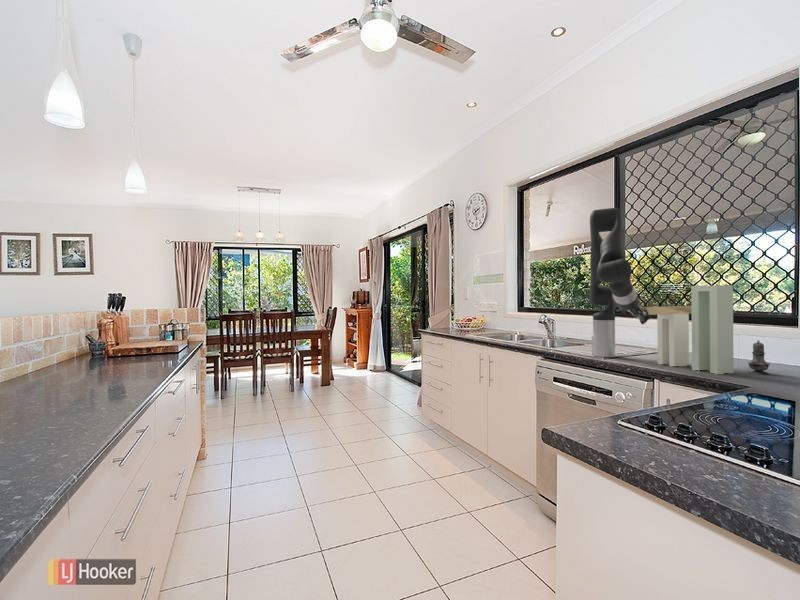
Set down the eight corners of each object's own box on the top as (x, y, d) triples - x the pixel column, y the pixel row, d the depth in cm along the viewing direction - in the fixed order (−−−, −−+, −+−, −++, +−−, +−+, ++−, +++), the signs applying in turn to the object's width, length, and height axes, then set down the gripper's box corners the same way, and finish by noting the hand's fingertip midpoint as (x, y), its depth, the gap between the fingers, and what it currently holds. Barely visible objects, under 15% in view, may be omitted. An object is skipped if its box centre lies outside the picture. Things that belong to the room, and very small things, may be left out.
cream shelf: (657, 364, 158) (657, 313, 157) (672, 362, 160) (671, 313, 160) (674, 366, 151) (673, 314, 151) (689, 365, 153) (688, 313, 153)
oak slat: (642, 314, 153) (642, 307, 153) (693, 312, 161) (693, 305, 161) (650, 314, 150) (649, 307, 150) (702, 313, 157) (702, 305, 157)
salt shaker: (765, 375, 133) (765, 341, 133) (744, 372, 138) (744, 339, 138) (773, 373, 136) (772, 340, 136) (752, 371, 141) (751, 338, 141)
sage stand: (692, 370, 144) (691, 286, 144) (707, 368, 146) (706, 286, 146) (717, 374, 136) (716, 285, 135) (733, 373, 138) (732, 285, 138)
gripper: (649, 297, 137) (657, 319, 147) (616, 280, 148) (626, 301, 158) (633, 312, 137) (643, 333, 147) (602, 293, 149) (612, 314, 159)
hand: (634, 316), depth 153 cm, fingers open, 8 cm apart
